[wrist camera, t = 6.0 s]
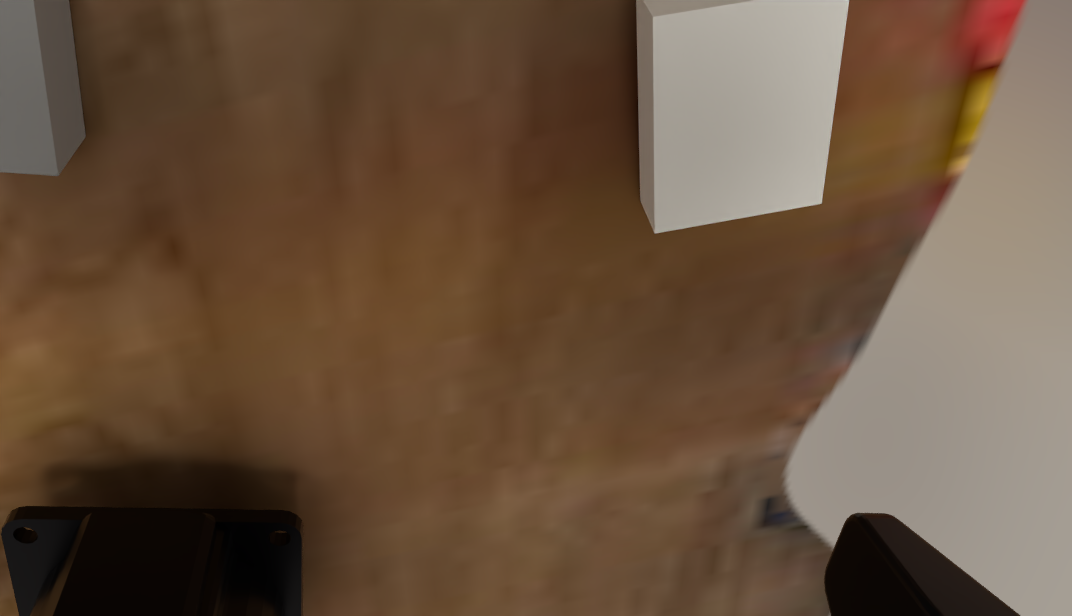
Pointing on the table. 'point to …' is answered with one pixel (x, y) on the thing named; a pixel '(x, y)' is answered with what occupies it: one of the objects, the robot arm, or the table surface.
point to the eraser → (734, 106)
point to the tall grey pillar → (38, 87)
